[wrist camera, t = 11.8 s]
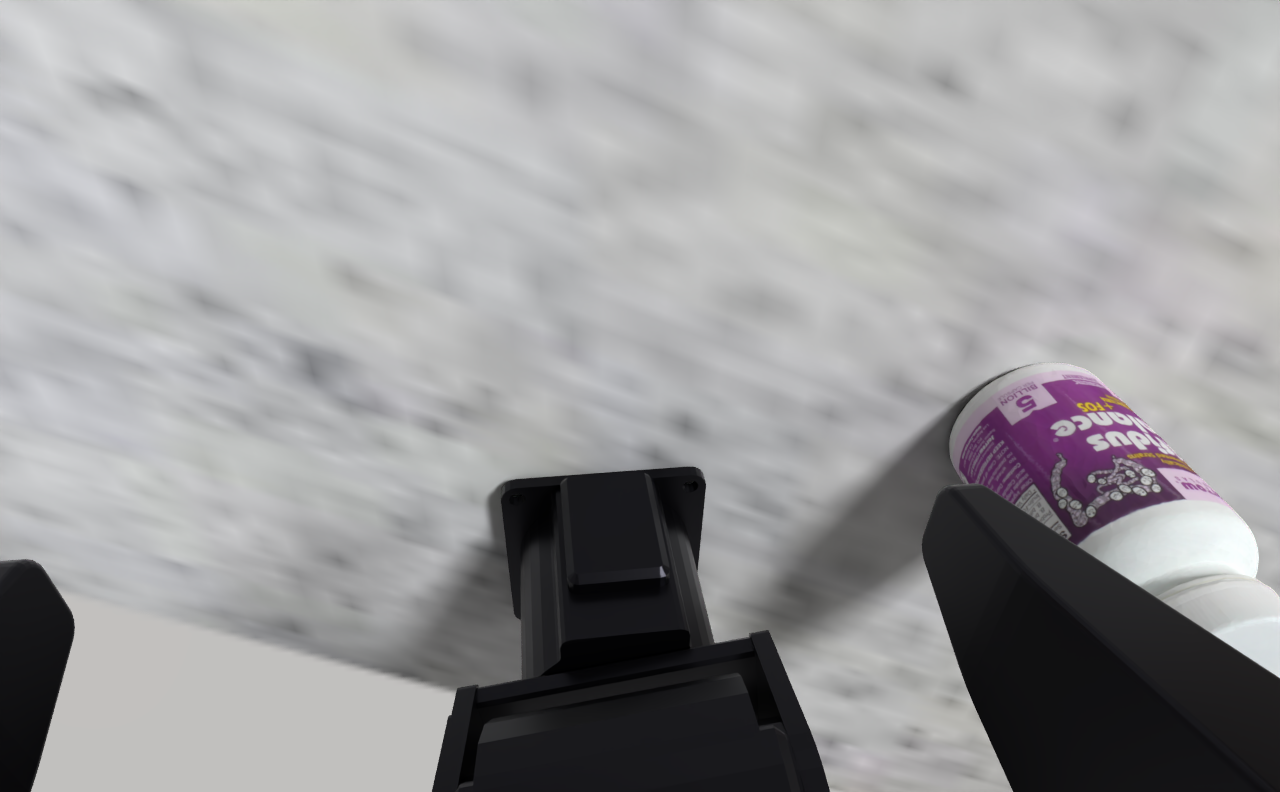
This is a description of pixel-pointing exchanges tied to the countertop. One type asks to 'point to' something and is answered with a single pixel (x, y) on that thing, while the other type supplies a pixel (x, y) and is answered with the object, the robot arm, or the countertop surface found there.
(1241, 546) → the pill bottle
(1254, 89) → the countertop surface
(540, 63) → the countertop surface
